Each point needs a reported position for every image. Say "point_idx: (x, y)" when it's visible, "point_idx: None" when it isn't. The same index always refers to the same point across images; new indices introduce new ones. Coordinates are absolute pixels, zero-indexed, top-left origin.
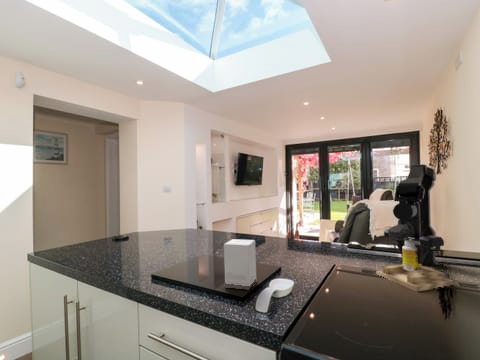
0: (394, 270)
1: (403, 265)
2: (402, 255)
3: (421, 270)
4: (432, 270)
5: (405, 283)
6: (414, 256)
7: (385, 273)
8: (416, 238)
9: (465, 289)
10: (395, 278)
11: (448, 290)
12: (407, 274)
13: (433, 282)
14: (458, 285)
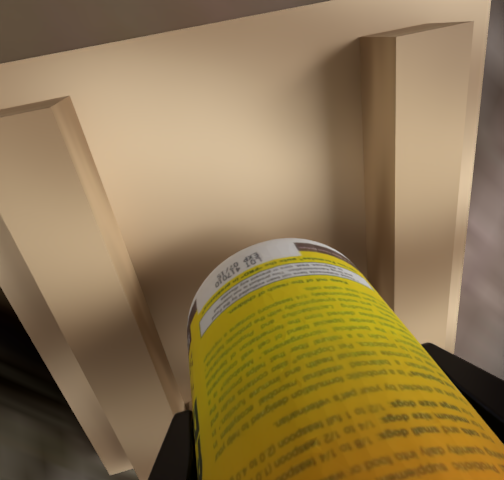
0: (377, 161)
1: (321, 256)
2: (459, 372)
3: None
4: None
5: (50, 54)
6: (208, 474)
7: (383, 29)
8: None
9: (38, 466)
10: (199, 27)
11: (4, 370)
12: None
13: (64, 340)
14: None
